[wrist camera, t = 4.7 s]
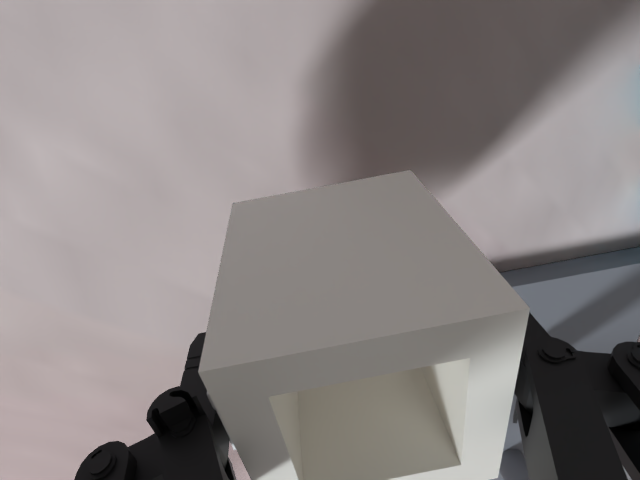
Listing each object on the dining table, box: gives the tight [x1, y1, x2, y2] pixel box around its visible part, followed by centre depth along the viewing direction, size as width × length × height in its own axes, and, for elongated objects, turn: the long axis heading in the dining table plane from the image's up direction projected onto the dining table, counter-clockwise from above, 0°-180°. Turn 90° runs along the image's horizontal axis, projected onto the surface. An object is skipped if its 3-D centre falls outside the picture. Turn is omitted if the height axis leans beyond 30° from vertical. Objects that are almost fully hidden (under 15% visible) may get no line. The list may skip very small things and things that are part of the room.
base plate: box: [490, 247, 640, 480], centre depth 26 cm, size 26×16×12 cm, turn 9°
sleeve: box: [198, 170, 530, 480], centre depth 13 cm, size 7×7×8 cm
